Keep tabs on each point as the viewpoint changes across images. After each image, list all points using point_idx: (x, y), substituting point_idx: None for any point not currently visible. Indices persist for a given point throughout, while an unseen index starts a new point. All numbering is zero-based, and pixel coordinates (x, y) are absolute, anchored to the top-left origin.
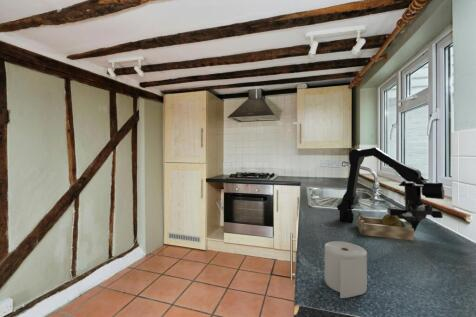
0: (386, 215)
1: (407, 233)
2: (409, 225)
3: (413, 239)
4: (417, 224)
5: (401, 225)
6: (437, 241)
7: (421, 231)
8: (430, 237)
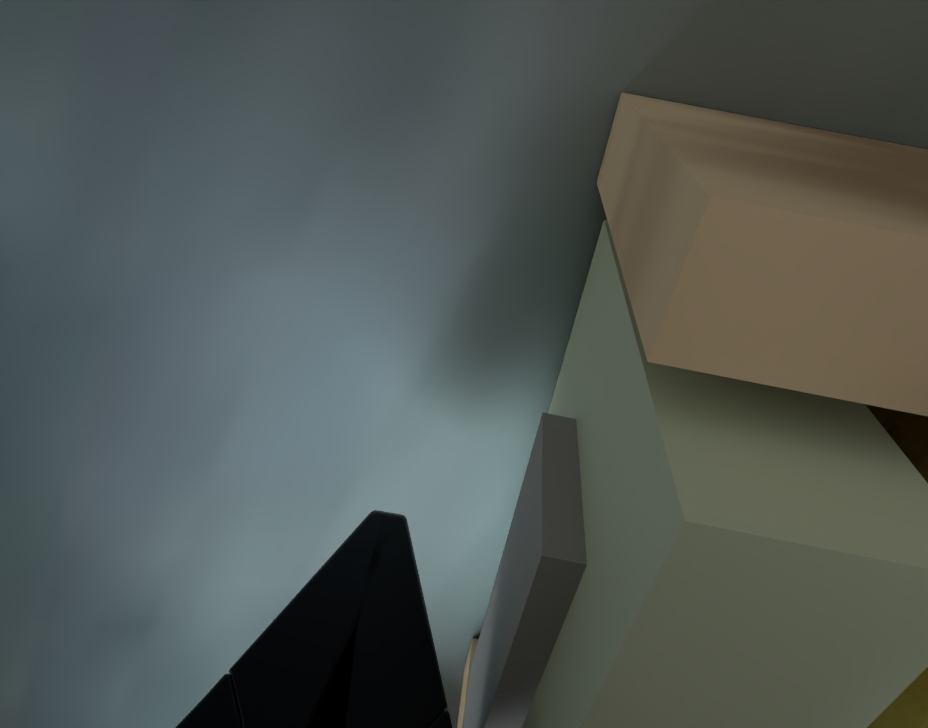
0: None
1: (898, 169)
2: (797, 530)
3: (633, 100)
4: (232, 695)
5: None
6: (18, 175)
7: (176, 649)
8: (108, 410)
